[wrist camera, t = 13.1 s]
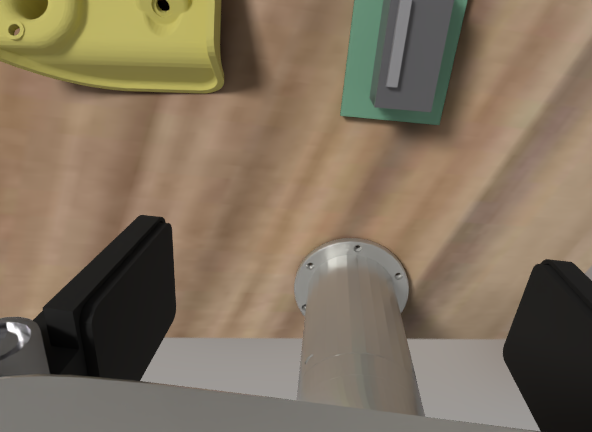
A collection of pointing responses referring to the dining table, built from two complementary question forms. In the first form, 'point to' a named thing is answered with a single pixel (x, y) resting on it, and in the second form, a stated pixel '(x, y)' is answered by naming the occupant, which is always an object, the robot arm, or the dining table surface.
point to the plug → (409, 53)
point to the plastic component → (116, 43)
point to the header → (363, 59)
